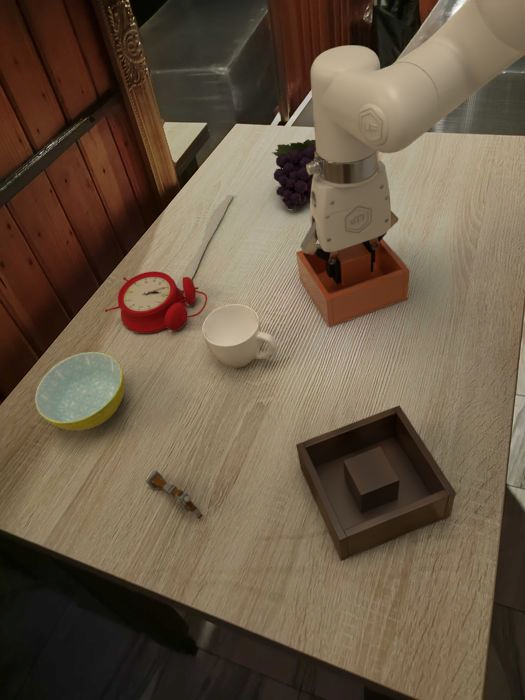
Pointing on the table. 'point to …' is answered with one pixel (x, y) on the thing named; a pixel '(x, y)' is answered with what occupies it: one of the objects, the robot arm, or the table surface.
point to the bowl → (81, 391)
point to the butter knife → (205, 239)
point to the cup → (236, 335)
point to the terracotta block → (354, 264)
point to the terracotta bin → (355, 286)
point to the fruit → (294, 172)
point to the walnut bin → (407, 461)
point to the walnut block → (371, 479)
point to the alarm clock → (155, 302)
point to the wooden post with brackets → (173, 492)
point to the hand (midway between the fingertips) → (350, 271)
